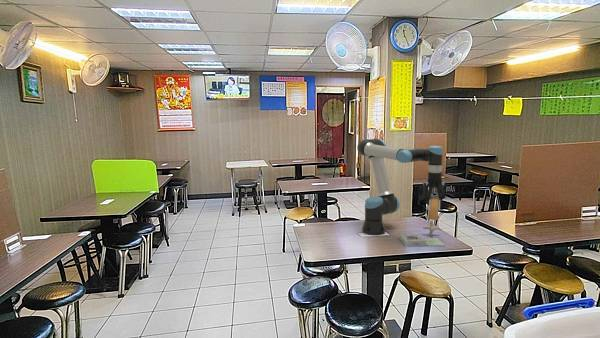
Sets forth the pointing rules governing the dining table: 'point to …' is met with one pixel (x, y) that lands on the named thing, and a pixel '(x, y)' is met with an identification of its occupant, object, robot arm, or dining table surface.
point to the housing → (412, 240)
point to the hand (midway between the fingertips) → (433, 210)
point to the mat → (433, 242)
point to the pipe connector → (431, 227)
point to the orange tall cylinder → (434, 207)
